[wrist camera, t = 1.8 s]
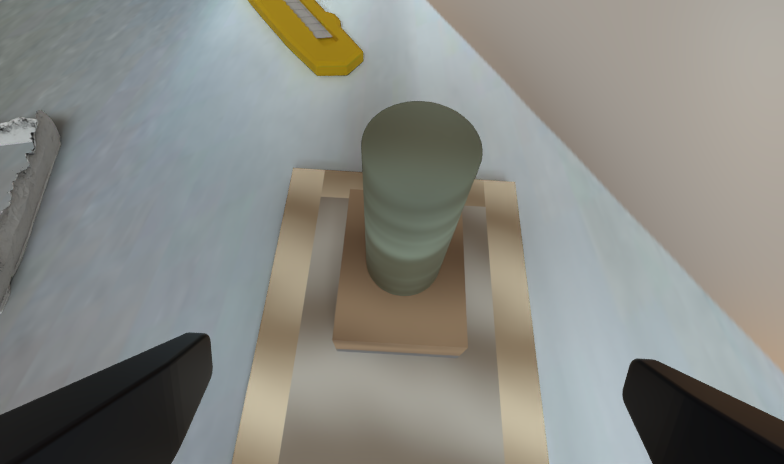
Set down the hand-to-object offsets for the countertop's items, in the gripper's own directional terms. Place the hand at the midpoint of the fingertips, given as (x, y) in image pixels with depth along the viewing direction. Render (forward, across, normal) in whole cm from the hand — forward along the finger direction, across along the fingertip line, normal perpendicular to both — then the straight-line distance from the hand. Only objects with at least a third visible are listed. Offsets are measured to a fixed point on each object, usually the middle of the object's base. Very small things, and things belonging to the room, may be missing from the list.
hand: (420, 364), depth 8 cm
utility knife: (+32, +11, -14) cm, 37 cm away
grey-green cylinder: (+12, 0, +4) cm, 13 cm away
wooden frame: (+10, 0, +7) cm, 13 cm away
